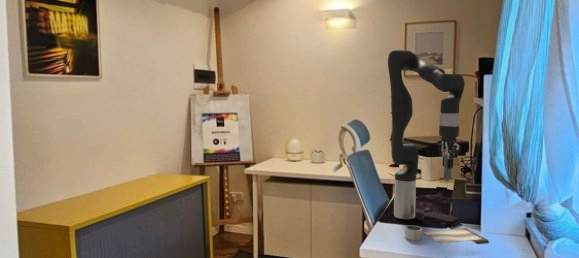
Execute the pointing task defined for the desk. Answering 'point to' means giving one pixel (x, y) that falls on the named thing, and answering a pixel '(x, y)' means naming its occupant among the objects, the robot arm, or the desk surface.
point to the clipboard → (455, 236)
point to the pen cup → (413, 233)
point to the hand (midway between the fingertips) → (447, 167)
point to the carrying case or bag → (442, 219)
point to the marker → (446, 170)
